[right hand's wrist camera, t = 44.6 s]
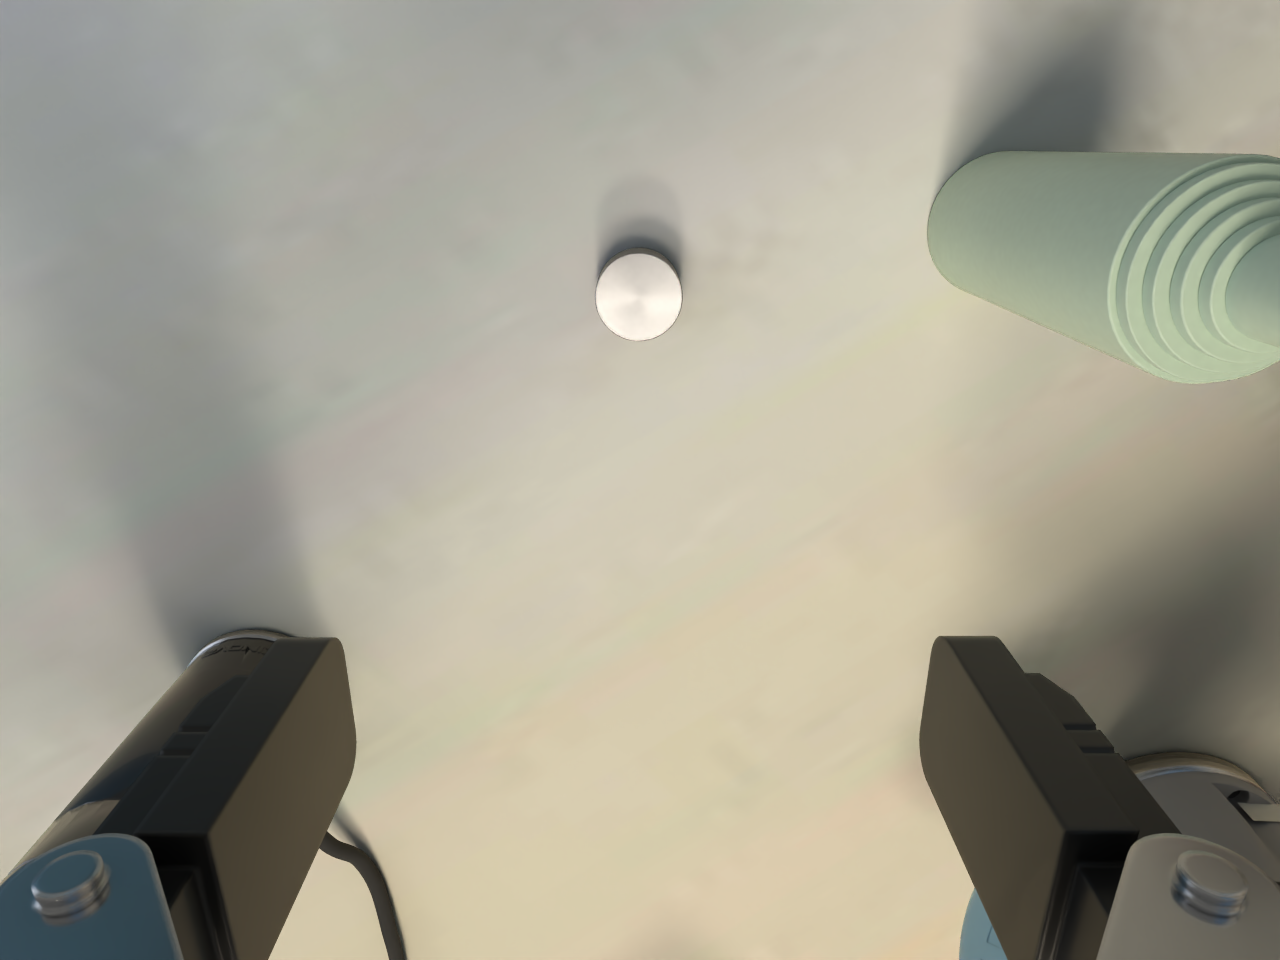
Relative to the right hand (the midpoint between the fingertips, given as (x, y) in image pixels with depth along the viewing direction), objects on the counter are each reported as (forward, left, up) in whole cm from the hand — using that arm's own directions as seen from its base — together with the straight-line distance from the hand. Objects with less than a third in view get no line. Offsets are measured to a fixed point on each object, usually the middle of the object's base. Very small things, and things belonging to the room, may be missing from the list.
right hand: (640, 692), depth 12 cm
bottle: (+3, -18, -35) cm, 39 cm away
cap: (0, 0, -33) cm, 33 cm away
